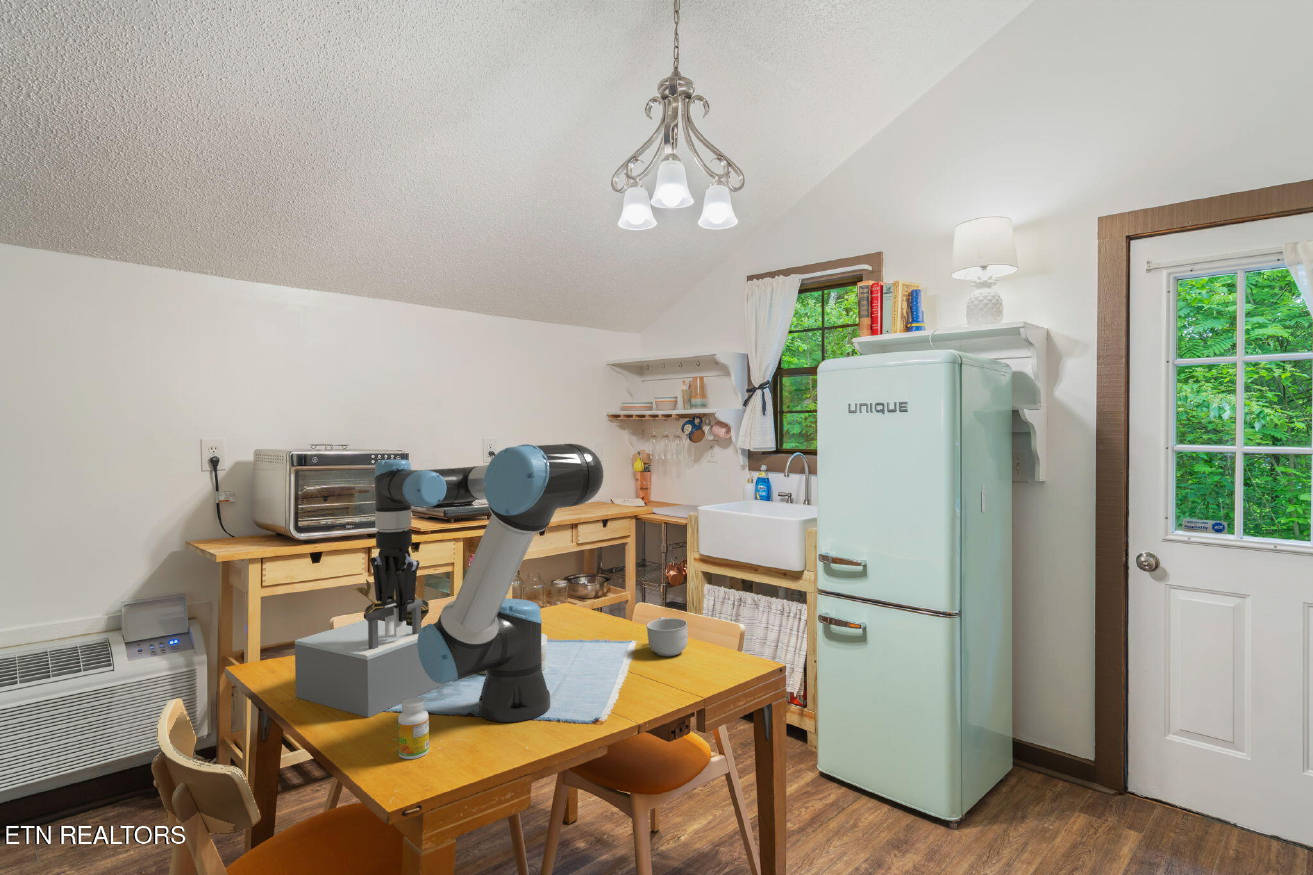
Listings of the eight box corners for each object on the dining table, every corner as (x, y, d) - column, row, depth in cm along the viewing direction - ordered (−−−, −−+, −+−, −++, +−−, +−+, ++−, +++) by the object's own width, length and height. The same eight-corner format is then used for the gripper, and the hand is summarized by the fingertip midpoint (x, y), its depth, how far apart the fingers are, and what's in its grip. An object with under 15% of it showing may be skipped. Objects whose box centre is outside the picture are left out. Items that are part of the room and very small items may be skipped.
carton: (440, 686, 166) (439, 635, 166) (368, 717, 149) (367, 660, 149) (370, 669, 178) (369, 622, 178) (295, 697, 160) (294, 644, 160)
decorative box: (429, 636, 206) (428, 568, 206) (429, 645, 197) (428, 574, 197) (354, 643, 200) (353, 573, 200) (350, 653, 191) (349, 580, 191)
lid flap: (439, 634, 166) (438, 597, 166) (367, 659, 149) (366, 617, 148) (369, 621, 178) (368, 586, 177) (294, 643, 160) (293, 604, 160)
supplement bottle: (393, 753, 133) (392, 701, 132) (420, 743, 136) (419, 693, 136) (406, 762, 129) (405, 709, 129) (434, 752, 133) (433, 701, 132)
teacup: (688, 659, 184) (688, 628, 183) (646, 659, 184) (646, 628, 184) (686, 642, 197) (686, 614, 197) (647, 643, 198) (647, 614, 197)
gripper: (431, 529, 158) (433, 634, 158) (383, 524, 165) (385, 626, 166) (404, 533, 151) (406, 644, 152) (356, 529, 159) (358, 634, 159)
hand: (395, 634), depth 159 cm, fingers open, 2 cm apart
